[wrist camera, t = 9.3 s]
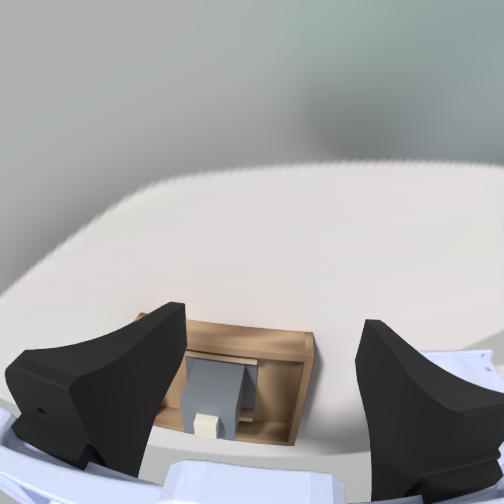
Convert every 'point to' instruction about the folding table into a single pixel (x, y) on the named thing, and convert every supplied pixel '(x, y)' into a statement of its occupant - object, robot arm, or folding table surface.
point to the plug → (213, 399)
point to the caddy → (250, 377)
